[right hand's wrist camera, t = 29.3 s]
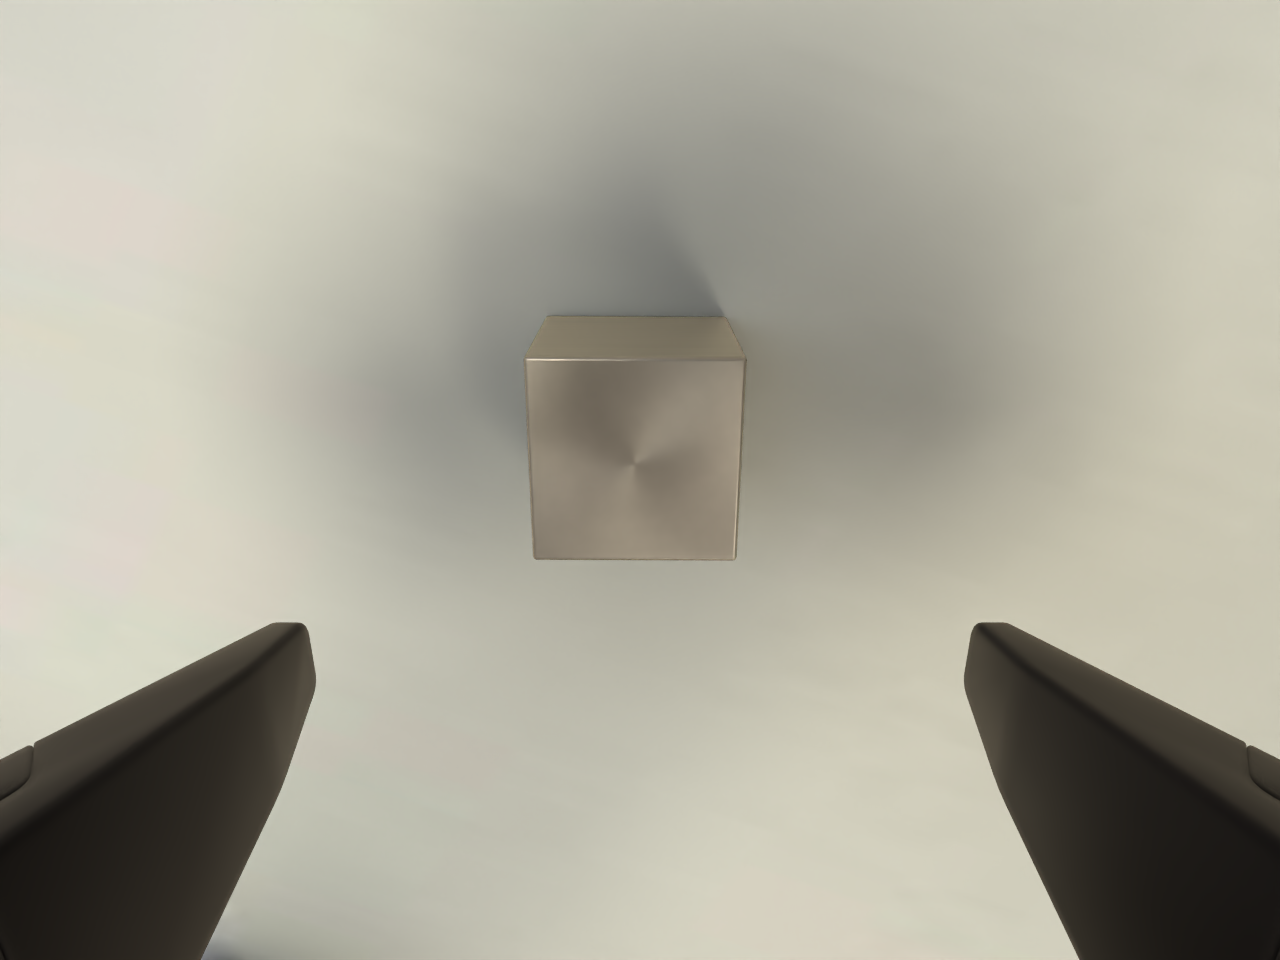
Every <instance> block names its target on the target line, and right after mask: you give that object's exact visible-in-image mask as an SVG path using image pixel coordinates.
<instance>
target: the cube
mask: <svg viewBox="0 0 1280 960" xmlns="http://www.w3.org/2000/svg"><path fill="white" fill-rule="evenodd" d="M746 365H747V360H746V357H745V355H744V353H743V351H742V349H741V347H740V345H739V343H738V341H737V339H736V337H735V335H734V333H733V331H732V329H731V327H730V325H729V323H728V321H727V319H726V318H725V317H652V316H548V317H546V319H545V320H544V322H543V324H542V326H541V328H540V330H539V331H538V333H537V335H536V337H535V339H534V341H533V342H532V344H531V346H530V348H529V350H528V352H527V353H526V355H525V357H524V376H525V397H526V418H527V439H528V460H529V481H530V502H531V523H532V544H533V557H534V559H536V560H735V559H736V557H737V538H738V519H739V499H740V480H741V461H742V442H743V423H744V403H745V384H746Z"/></svg>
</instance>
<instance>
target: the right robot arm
mask: <svg viewBox="0 0 1280 960" xmlns="http://www.w3.org/2000/svg"><path fill="white" fill-rule="evenodd" d="M315 686H316V673H315V667H314V661H313V655H312V649H311V643H310V638H309V633H308V630H307V628H306V626H305V625H304V624H302V623H272V624H270V625H268V626H266V627H264V628H262V629H260V630H258V631H256V632H254V633H252V634H250V635H248V636H246V637H244V638H242V639H240V640H238V641H236V642H234V643H232V644H230V645H228V646H226V647H224V648H222V649H220V650H218V651H216V652H214V653H212V654H210V655H208V656H206V657H204V658H202V659H200V660H198V661H196V662H194V663H192V664H190V665H188V666H186V667H184V668H182V669H180V670H178V671H176V672H174V673H172V674H170V675H168V676H166V677H164V678H162V679H160V680H158V681H156V682H154V683H152V684H150V685H148V686H146V687H144V688H142V689H140V690H138V691H136V692H134V693H132V694H130V695H128V696H126V697H124V698H122V699H120V700H118V701H116V702H114V703H112V704H110V705H108V706H106V707H104V708H102V709H100V710H98V711H96V712H94V713H92V714H90V715H88V716H86V717H84V718H82V719H80V720H79V721H77V722H75V723H73V724H71V725H69V726H67V727H65V728H63V729H61V730H59V731H57V732H55V733H53V734H51V735H49V736H47V737H45V738H43V739H41V740H39V741H37V742H35V743H34V748H33V747H32V746H26V747H24V748H22V749H20V750H18V751H16V752H14V753H12V754H10V755H9V756H7V757H5V758H3V759H1V760H0V960H201V958H202V955H203V953H204V951H205V949H206V947H207V945H208V943H209V941H210V939H211V937H212V934H213V932H214V930H215V928H216V926H217V924H218V922H219V920H220V918H221V916H222V913H223V911H224V909H225V907H226V905H227V903H228V901H229V899H230V897H231V894H232V892H233V890H234V888H235V886H236V884H237V882H238V880H239V878H240V876H241V873H242V871H243V869H244V867H245V865H246V863H247V861H248V859H249V857H250V855H251V852H252V850H253V848H254V846H255V844H256V842H257V840H258V838H259V836H260V833H261V831H262V829H263V827H264V825H265V823H266V821H267V819H268V817H269V815H270V812H271V810H272V808H273V806H274V804H275V802H276V799H277V797H278V795H279V793H280V790H281V788H282V785H283V783H284V780H285V777H286V775H287V772H288V769H289V766H290V763H291V760H292V757H293V754H294V751H295V748H296V745H297V742H298V739H299V736H300V733H301V730H302V727H303V724H304V721H305V719H306V716H307V713H308V710H309V707H310V704H311V701H312V698H313V695H314V691H315ZM964 686H965V691H966V695H967V698H968V701H969V704H970V707H971V710H972V713H973V716H974V719H975V722H976V724H977V727H978V730H979V733H980V736H981V739H982V742H983V745H984V748H985V751H986V754H987V757H988V760H989V763H990V766H991V769H992V772H993V775H994V777H995V780H996V783H997V785H998V788H999V790H1000V793H1001V795H1002V797H1003V799H1004V802H1005V804H1006V806H1007V808H1008V810H1009V812H1010V815H1011V817H1012V819H1013V821H1014V823H1015V825H1016V827H1017V829H1018V831H1019V833H1020V836H1021V838H1022V840H1023V842H1024V844H1025V846H1026V848H1027V850H1028V852H1029V855H1030V857H1031V859H1032V861H1033V863H1034V865H1035V867H1036V869H1037V871H1038V873H1039V876H1040V878H1041V880H1042V882H1043V884H1044V886H1045V888H1046V890H1047V892H1048V894H1049V897H1050V899H1051V901H1052V903H1053V905H1054V907H1055V909H1056V911H1057V913H1058V916H1059V918H1060V920H1061V922H1062V924H1063V926H1064V928H1065V930H1066V932H1067V934H1068V937H1069V939H1070V941H1071V943H1072V945H1073V947H1074V949H1075V951H1076V953H1077V956H1078V958H1079V960H1280V760H1279V759H1277V758H1275V757H1273V756H1271V755H1269V754H1268V753H1266V752H1264V751H1262V750H1260V749H1258V748H1256V747H1254V746H1248V747H1247V748H1246V743H1245V742H1243V741H1241V740H1239V739H1237V738H1235V737H1233V736H1231V735H1229V734H1227V733H1225V732H1223V731H1221V730H1219V729H1217V728H1215V727H1213V726H1211V725H1209V724H1207V723H1205V722H1203V721H1201V720H1200V719H1198V718H1196V717H1194V716H1192V715H1190V714H1188V713H1186V712H1184V711H1182V710H1180V709H1178V708H1176V707H1174V706H1172V705H1170V704H1168V703H1166V702H1164V701H1162V700H1160V699H1158V698H1156V697H1154V696H1152V695H1150V694H1148V693H1146V692H1144V691H1142V690H1140V689H1138V688H1136V687H1134V686H1132V685H1130V684H1128V683H1126V682H1124V681H1122V680H1120V679H1118V678H1116V677H1114V676H1112V675H1110V674H1108V673H1106V672H1104V671H1102V670H1100V669H1098V668H1096V667H1094V666H1092V665H1090V664H1088V663H1086V662H1084V661H1082V660H1080V659H1078V658H1076V657H1074V656H1072V655H1070V654H1068V653H1066V652H1064V651H1062V650H1060V649H1058V648H1056V647H1054V646H1052V645H1050V644H1048V643H1046V642H1044V641H1042V640H1040V639H1038V638H1036V637H1034V636H1032V635H1030V634H1028V633H1026V632H1024V631H1022V630H1020V629H1018V628H1016V627H1014V626H1012V625H1010V624H1008V623H978V624H976V625H975V626H974V628H973V630H972V633H971V638H970V643H969V649H968V655H967V661H966V667H965V673H964Z"/></svg>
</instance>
